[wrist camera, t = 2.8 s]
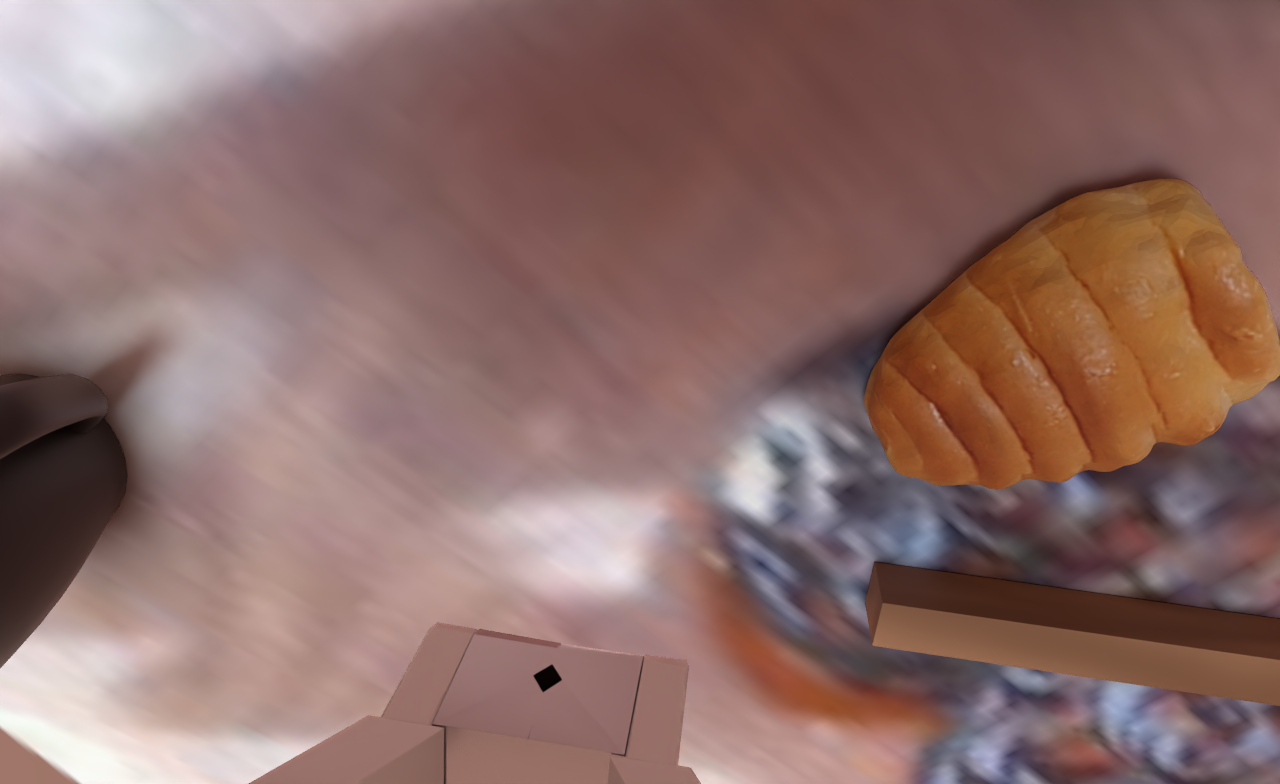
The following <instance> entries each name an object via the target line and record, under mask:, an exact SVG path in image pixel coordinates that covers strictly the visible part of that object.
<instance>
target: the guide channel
mask: <svg viewBox="0 0 1280 784" xmlns="http://www.w3.org/2000/svg"><path fill="white" fill-rule="evenodd" d="M865 605H866V611H867V617H868V623H869V629H870V635H871V640H872V646H879V647H885V648H892V649H899V650H906V651H912V652H919V653H926V654H933V655H939V656H946V657H953V658H960V659H967V660H973V661H980V662H987V663H994V664H1000V665H1007V666H1014V667H1021V668H1028V669H1034V670H1041V671H1048V672H1055V673H1061V674H1068V675H1075V676H1082V677H1088V678H1095V679H1102V680H1109V681H1116V682H1122V683H1129V684H1136V685H1143V686H1149V687H1156V688H1163V689H1170V690H1177V691H1183V692H1190V693H1197V694H1204V695H1210V696H1217V697H1224V698H1231V699H1237V700H1244V701H1251V702H1258V703H1265V704H1271V705H1278V706H1280V619H1276V618H1268V617H1261V616H1254V615H1247V614H1240V613H1233V612H1226V611H1219V610H1212V609H1205V608H1197V607H1190V606H1183V605H1176V604H1169V603H1162V602H1155V601H1148V600H1141V599H1134V598H1126V597H1119V596H1112V595H1105V594H1098V593H1091V592H1084V591H1077V590H1070V589H1063V588H1055V587H1048V586H1041V585H1034V584H1027V583H1020V582H1013V581H1006V580H999V579H992V578H985V577H977V576H970V575H963V574H956V573H949V572H942V571H935V570H928V569H921V568H914V567H906V566H899V565H892V564H885V563H878V562H874V566H873V571H872V575H871V579H870V584H869V588H868V592H867V597H866V601H865Z"/></svg>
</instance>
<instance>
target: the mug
mask: <svg viewBox="0 0 1280 784" xmlns="http://www.w3.org/2000/svg"><path fill="white" fill-rule="evenodd" d="M107 411H108V402H107V398H106V396H105V395H104V393H103V392H102V390H101V389H100V388H99V387H98V386H97V385H95V384H94V383H92V382H91V381H89V380H88V379H86V378H82V377H79V376H76V375H71V374H67V375H58V376H50V377H42V378H40V377H35V376H29V375H23V374H14V375H1V376H0V668H1V667H2V666H3V665H4V664H5V663H6V662H7V661H8V659H9V658H10V657H11V656H12V655H13V654H14V653H15V652H16V651H17V649H18V648H19V647H20V646H21V645H22V644H23V643H24V642H25V640H26V639H27V638H28V637H29V636H30V635H31V634H32V633H33V632H34V630H35V629H36V628H37V627H38V626H39V625H40V624H41V622H42V621H43V620H44V619H45V617H46V616H47V615H48V613H49V612H50V611H51V610H52V608H53V607H54V606H55V604H56V603H57V602H58V601H59V599H60V598H61V597H62V595H63V594H64V592H65V591H66V590H67V588H68V587H69V585H70V584H71V582H72V581H73V579H74V578H75V576H76V575H77V573H78V572H79V570H80V569H81V567H82V566H83V564H84V562H85V561H86V559H87V557H88V556H89V554H90V552H91V551H92V549H93V547H94V545H95V544H96V542H97V540H98V538H99V536H100V535H101V533H102V531H103V529H104V528H105V526H106V524H107V522H108V521H109V519H110V517H111V516H112V514H113V513H114V512H115V511H116V509H117V508H118V507H119V505H120V503H121V501H122V498H123V496H124V494H125V490H126V482H127V469H126V461H125V457H124V454H123V451H122V448H121V446H120V443H119V441H118V439H117V437H116V436H115V434H114V432H113V431H112V429H111V427H110V426H109V424H108V423H107V422H106V421H105V419H104V418H103V417H104V415H105V414H106V412H107Z"/></svg>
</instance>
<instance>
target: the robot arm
mask: <svg viewBox="0 0 1280 784" xmlns="http://www.w3.org/2000/svg"><path fill="white" fill-rule="evenodd" d="M688 670H689V665H688V662H687V660H682V659H674V658H666V657H659V656H651V655H645V658H644V656H641V655H635V654H628V653H621V652H614V651H607V650H601V649H594V648H587V647H580V646H573V645H567V644H561V643H557V642H551V641H545V640H540V639H534V638H528V637H523V636H517V635H511V634H506V633H500V632H494V631H489V630H483V629H479V630H477V629H474V628H468V627H462V626H456V625H450V624H444V623H439V622H437V623H436V624H435V625H434V626H432V627H431V628H430V629H429V630H428V632H427V634H426V636H425V637H424V639H423V641H422V643H421V645H420V646H419V648H418V650H417V652H416V654H415V656H414V657H413V659H412V661H411V663H410V665H409V667H408V668H407V670H406V672H405V674H404V676H403V678H402V679H401V681H400V683H399V685H398V687H397V689H396V690H395V692H394V694H393V696H392V698H391V700H390V701H389V703H388V705H387V707H386V709H385V710H384V712H383V714H382V716H381V717H375V716H366V717H365V718H363V719H361V720H359V721H358V722H356V723H354V724H352V725H351V726H349V727H347V728H345V729H344V730H342V731H340V732H338V733H337V734H335V735H333V736H331V737H330V738H328V739H326V740H324V741H323V742H321V743H319V744H317V745H316V746H314V747H312V748H310V749H309V750H307V751H305V752H303V753H302V754H300V755H298V756H296V757H295V758H293V759H291V760H289V761H288V762H286V763H284V764H282V765H280V766H279V767H277V768H275V769H273V770H272V771H270V772H268V773H266V774H265V775H263V776H261V777H259V778H258V779H256V780H254V781H252V782H251V783H249V784H701V783H700V781H699V780H698V778H697V777H696V775H695V774H694V772H693V770H692V769H691V768H689V767H684V766H678V759H679V750H680V741H681V732H682V723H683V714H684V705H685V697H686V688H687V679H688Z"/></svg>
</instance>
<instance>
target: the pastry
mask: <svg viewBox="0 0 1280 784" xmlns="http://www.w3.org/2000/svg"><path fill="white" fill-rule="evenodd" d="M1279 375H1280V344H1279V336H1278V332H1277V328H1276V324H1275V322H1274V319H1273V316H1272V313H1271V310H1270V307H1269V303H1268V299H1267V296H1266V293H1265V291H1264V289H1263V287H1262V285H1261V284H1260V282H1259V281H1258V280H1257V278H1256V277H1255V276H1254V275H1253V273H1252V272H1251V271H1250V270H1249V269H1248V268H1247V267H1246V265H1245V264H1244V262H1243V261H1242V254H1241V250H1240V248H1239V247H1238V245H1237V244H1236V242H1235V241H1234V240H1233V239H1232V237H1231V236H1230V234H1229V233H1228V231H1227V230H1226V229H1225V227H1224V225H1223V224H1222V222H1221V221H1220V219H1219V218H1218V216H1217V215H1216V214H1215V212H1214V210H1213V208H1212V206H1211V205H1210V204H1209V203H1208V202H1206V200H1205V199H1204V198H1203V196H1202V194H1201V192H1200V191H1199V190H1198V189H1196V188H1195V187H1194V186H1193V185H1191V184H1189V183H1188V182H1186V181H1182V180H1179V179H1156V180H1148V181H1143V182H1137V183H1133V184H1129V185H1125V186H1121V187H1116V188H1110V189H1104V190H1098V191H1092V192H1086V193H1084V194H1081V195H1079V196H1076V197H1074V198H1072V199H1069V200H1067V201H1066V202H1064V203H1062V204H1060V205H1059V206H1057V207H1055V208H1053V209H1051V210H1049V211H1047V212H1046V213H1044V214H1042V215H1040V216H1038V217H1036V218H1034V219H1032V220H1031V221H1029V222H1028V223H1027V224H1026V225H1024V226H1023V227H1022V228H1021V229H1020V230H1018V231H1017V232H1016V233H1015V234H1014V235H1013V236H1011V237H1010V238H1009V239H1008V240H1007V241H1005V242H1003V243H1002V244H1000V245H999V246H997V247H996V248H994V249H993V250H992V251H990V252H989V253H988V254H987V255H986V256H985V257H983V258H982V259H980V260H979V261H977V262H976V263H974V264H973V265H971V266H970V267H969V268H968V269H967V270H966V271H965V272H964V273H963V274H962V275H960V276H959V277H958V278H957V279H956V280H955V281H953V282H952V283H951V284H950V285H949V286H948V287H947V288H945V289H944V290H943V291H942V292H941V293H940V294H939V295H938V296H937V297H936V298H935V299H934V300H932V301H931V302H930V303H929V304H928V305H927V306H926V307H924V308H923V309H922V310H921V311H920V312H919V313H918V314H916V315H915V316H914V317H913V318H912V319H911V320H910V321H909V322H907V323H906V324H905V325H904V326H903V327H902V328H901V329H900V330H899V331H898V332H897V333H896V334H895V335H894V336H893V337H892V338H891V340H890V341H889V343H888V344H887V346H886V348H885V350H884V351H883V353H882V355H881V357H880V358H879V360H878V361H877V363H876V365H875V366H874V368H873V369H872V372H871V374H870V378H869V380H868V383H867V387H866V391H865V396H864V405H865V408H866V412H867V414H868V416H869V419H870V422H871V425H872V428H873V430H874V431H875V433H876V435H877V436H878V438H879V440H880V441H881V443H882V446H883V448H884V451H885V453H886V456H887V458H888V460H889V462H890V464H891V465H892V467H893V468H894V470H895V471H896V472H897V473H899V474H901V475H904V476H907V477H914V478H918V479H921V480H925V481H927V482H929V483H931V484H933V485H938V486H942V485H952V486H953V485H966V484H972V485H982V486H985V487H987V488H989V489H1002V488H1008V487H1009V486H1011V485H1013V484H1015V483H1017V482H1019V481H1022V480H1025V479H1036V480H1042V481H1052V482H1060V483H1061V482H1064V481H1067V480H1069V479H1070V478H1072V477H1073V476H1074V475H1076V474H1077V473H1079V472H1082V471H1085V470H1094V471H1100V472H1109V471H1113V470H1116V469H1118V468H1120V467H1122V466H1125V465H1131V464H1134V463H1138V462H1139V461H1141V460H1142V459H1143V458H1145V457H1146V456H1147V455H1148V454H1149V452H1150V451H1151V449H1152V447H1153V445H1154V444H1155V443H1157V442H1168V443H1172V444H1176V445H1181V446H1187V445H1193V444H1197V443H1198V442H1199V441H1201V440H1203V439H1205V438H1206V437H1208V436H1210V435H1212V434H1214V433H1215V432H1216V431H1217V430H1218V429H1219V428H1220V427H1221V425H1222V423H1223V421H1224V420H1225V418H1226V416H1227V413H1228V411H1229V408H1230V407H1231V406H1232V405H1234V404H1235V403H1238V402H1241V401H1244V400H1247V399H1250V398H1252V397H1253V396H1254V395H1256V394H1257V393H1258V392H1260V391H1261V390H1262V389H1263V388H1264V387H1265V386H1266V385H1267V384H1268V383H1269V382H1270V381H1274V380H1275V379H1276V378H1277V377H1278V376H1279Z"/></svg>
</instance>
